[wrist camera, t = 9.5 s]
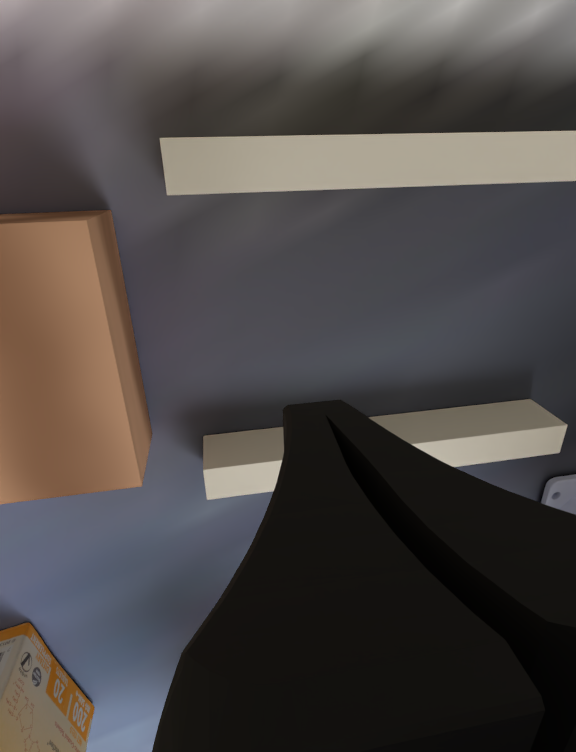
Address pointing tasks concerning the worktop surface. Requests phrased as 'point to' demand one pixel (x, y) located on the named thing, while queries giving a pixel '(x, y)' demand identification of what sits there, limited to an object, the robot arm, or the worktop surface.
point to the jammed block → (67, 360)
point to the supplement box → (38, 698)
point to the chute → (375, 170)
